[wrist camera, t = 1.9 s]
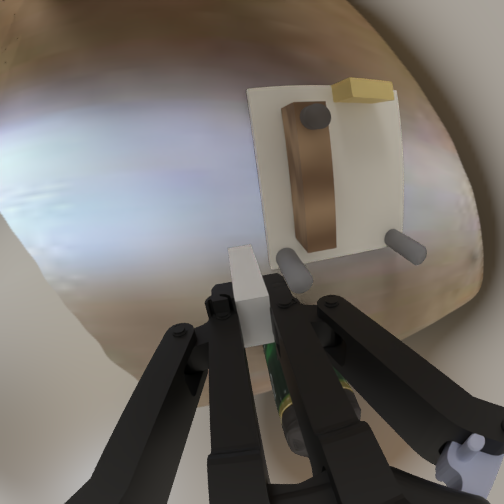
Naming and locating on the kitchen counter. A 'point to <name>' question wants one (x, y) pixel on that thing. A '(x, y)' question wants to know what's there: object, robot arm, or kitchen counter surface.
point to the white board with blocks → (335, 173)
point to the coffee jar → (285, 402)
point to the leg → (311, 173)
